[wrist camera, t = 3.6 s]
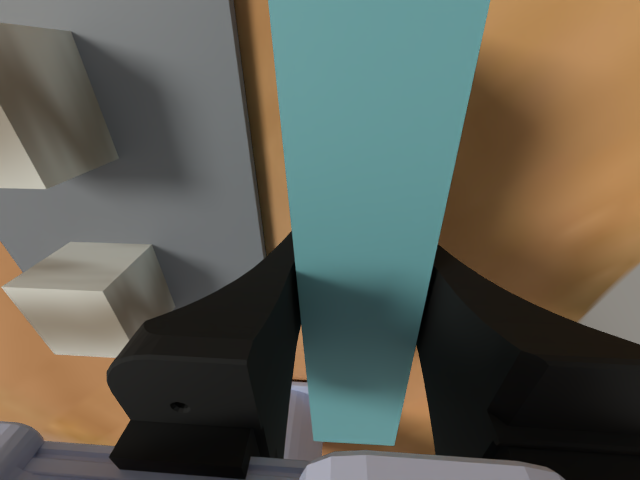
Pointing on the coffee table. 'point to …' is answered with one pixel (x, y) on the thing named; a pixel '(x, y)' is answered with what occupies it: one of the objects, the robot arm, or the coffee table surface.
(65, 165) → the pillar
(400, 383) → the teal beam
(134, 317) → the pillar
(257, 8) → the coffee table surface
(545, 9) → the coffee table surface
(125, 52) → the grey flat plate
